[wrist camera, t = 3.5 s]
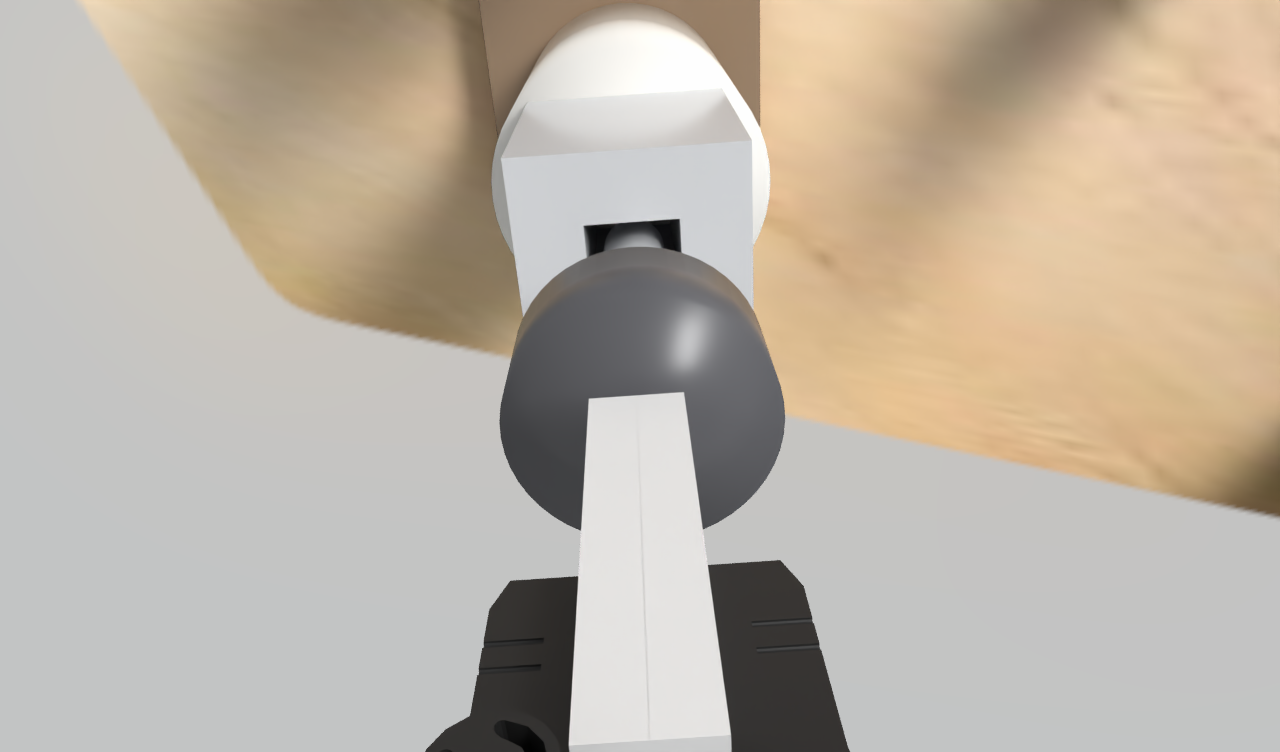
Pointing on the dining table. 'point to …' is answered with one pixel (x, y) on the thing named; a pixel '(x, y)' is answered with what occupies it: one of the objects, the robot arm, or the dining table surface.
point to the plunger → (641, 371)
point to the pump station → (626, 129)
